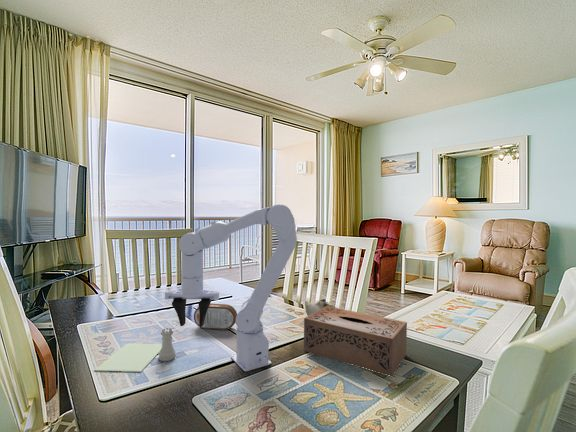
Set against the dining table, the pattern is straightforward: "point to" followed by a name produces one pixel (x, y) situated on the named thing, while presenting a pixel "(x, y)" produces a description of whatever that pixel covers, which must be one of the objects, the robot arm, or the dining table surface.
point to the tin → (217, 317)
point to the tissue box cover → (356, 338)
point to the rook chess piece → (167, 346)
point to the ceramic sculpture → (316, 306)
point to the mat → (131, 358)
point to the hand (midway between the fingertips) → (192, 325)
